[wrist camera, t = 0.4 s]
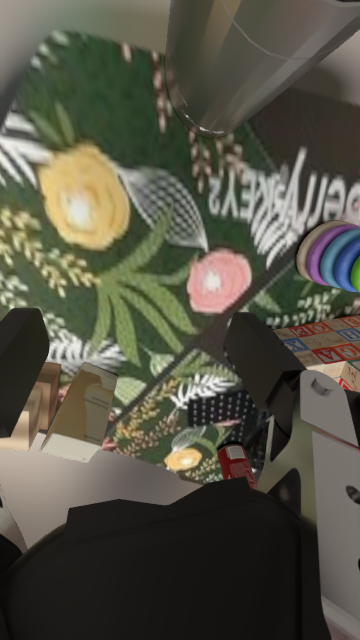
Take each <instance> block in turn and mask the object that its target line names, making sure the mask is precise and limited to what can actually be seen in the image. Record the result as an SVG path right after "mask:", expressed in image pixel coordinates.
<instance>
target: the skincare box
mask: <svg viewBox="0 0 360 640" xmlns="http://www.w3.org/2000/svg"><path fill="white" fill-rule="evenodd" d="M117 378H118V377H117V376H116V375H114V374H111V373H109V372H107V371H105V370H102V369H100V368H97V367H95V366H92V365H90V364H88V363H84V364H83V365H82V366H81V368H80V369H79V371H78V372H77V374H76V375H75V377H74V379H73V381H72V383H71V385H70V387H69V389H68V391H67V393H66V395H65V398H64V400H63V402H62V404H61V406H60V408H59V410H58V412H57V414H56V416H55V419H54V421H53V423H52V425H51V427H50V429H49V431H48V433H47V435H46V438H45V440H44V442H43V444H42V446H41V448H40V450H39V451H40V452H42V453H47V454H51V455H55V456H59V457H61V458H65V459H72V460H76V461H80V462H84V463H88V462H89V461H90V460H91V459H92V458H93V457H94V456H95V455H96V454H97V452H98V451H99V450H100V449H101V447H102V444H103V440H104V435H105V431H106V427H107V422H108V418H109V414H110V409H111V405H112V400H113V396H114V391H115V387H116V383H117Z"/></svg>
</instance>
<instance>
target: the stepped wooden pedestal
mask: <svg viewBox="0 0 360 640" xmlns="http://www.w3.org/2000/svg"><path fill="white" fill-rule="evenodd" d="M60 370H61V365H60V364H54V363H48V362H45V363H44V365H43V367H42V369H41V372H40V374H39V376H38V378H37V380H36V383H35V385H34V387H33V389H32V391H31V393H30V396H29V398H28V400H27V402H26V404H25V407H24V409H23V411H22V413H21V415H20V417H19V420H18V422H17V424H16V426H15V428H14V431H13V433H12V435H11V437H9V438H0V449H10V450H29V449H30V447H31V445H32V443H33V440H34V438H35V437H36V435H37V433H38V430H39V429H48V427H49V425H50V423H51V421H52V418H53V416H54V414H55V412H56V409H57V401H58V391H59V380H60Z"/></svg>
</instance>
